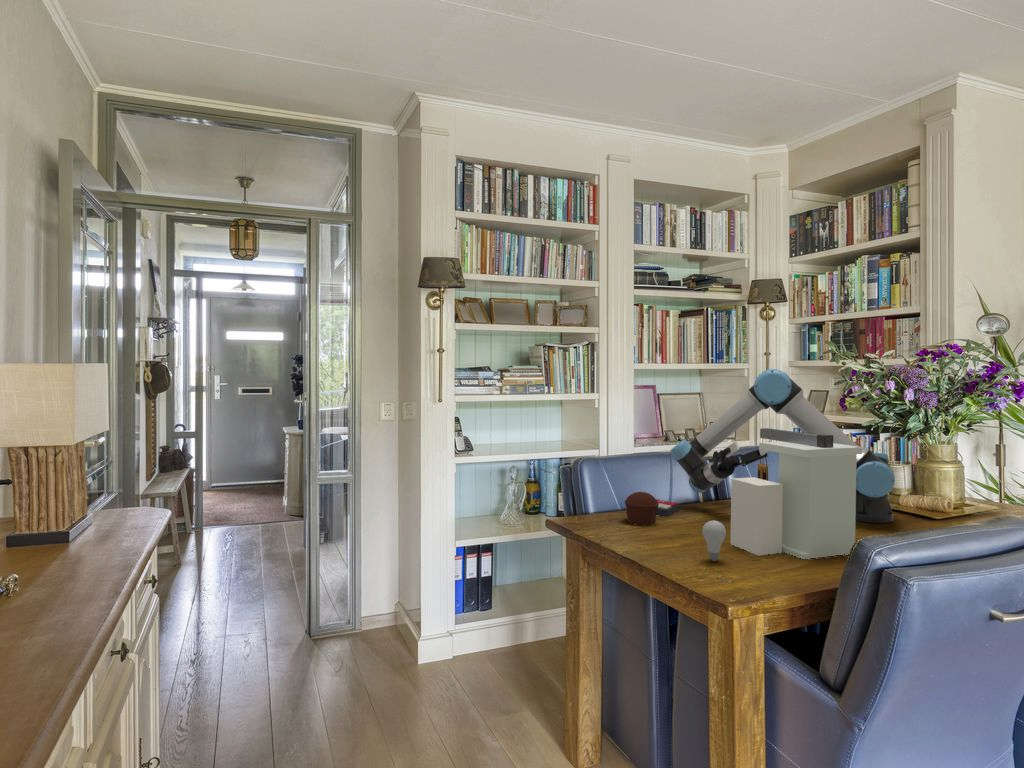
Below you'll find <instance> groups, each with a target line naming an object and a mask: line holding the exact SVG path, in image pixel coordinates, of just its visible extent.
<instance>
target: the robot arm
mask: <svg viewBox="0 0 1024 768" xmlns="http://www.w3.org/2000/svg"><path fill="white" fill-rule="evenodd" d="M769 408H771V409H772V410H773V412H774V413H776V414H777V415H784V416H785V417H787V418H788V419H789V420H790V421H791V422H793V424H795V426H797V428H799V429H800V430H801V431H802V433H808V434H815V435H825V434H827V435H833V443H836V444H843V445H850V446H857V447H860V446H859V444H857V443H856V442H855V441H853V440H852V438H850V437H849V436H848V435H847V434H846V433H845V432H843V430H841V429H840V428H839V427H838V426H836V424H834V422H832V421H831V420H830V419H829V418H828V417H827V416H826V415H825V414H824V413H822V412H821V411H820V409H818V408H817V407H816V406H815V405H813V404H812V403H811V402H810V401H809V400H808V399H807V398H806V397H805V396H804V390H803V389H802V388H801V387H800V385H798V384H797V383H796V382H795V381H794V380H793V379H791V378H790V376H789V375H788V374H787V373H786V372H785V371H782V370H780V369H778V368H776V369H775V368H770V369H769V368H768V369H766V370H764V371H761V373H759V374H758V376H756V378H755V380H754V382H753V385H752V386H751V387H750V388H748V389H747V393H746V395H744V396H743V397H742V398H741V399H740V400H738V401H737V402H736V403H735V404H733V405H732V406H731V407H730V408H729V409H728V410H726V411H725V412H724V413H723V414H722V415H721V416H719V417H718V418H717V419H716V420H714V421H713V422H712V423H711V424H710V425H709V426H707V427H706V428H704V430H703V431H701V432H700V433H699V434H698V435H697V436H696V437H694V438H693V439H692V440H690V441H689V442H688V441H687V440H685V439H683V440H681V441H680V442H679V443H677V444H676V445H675V446H674V447H672V448H671V449H670V451H669V452H670V454H671V456H672V457H673V459H674V460H675V461H676V462H677V463H678V464H679V466H680V467H681V468H682V469H683V470H684V471H685V473H686V474H687V476H688V477H689V478H688V484H689V487H690V488H691V490H692V491H694V492H696V493H699V494H700V493H704V492H705V493H706V491H709V490H711V489H712V488H714V486H716V485H719V484H721V482H722V481H724V480H725V479H727V478H729V477H730V476H731V475H733V474H734V472H735V468H737V467H739V466H742V467H746V466H747V465H749V464H752V463H755V462H758V461H760V459H761V460H762V458H764V459H765V457H766V458H767V457H768V453H769V452H770V451H767V450H761V449H759V447H758V449H756V450H751V451H749V452H746V453H743V454H742V453H738V454H736V455H734V454H735V453H736V452H738V451H739V450H740V447H739V444H738V441H734V442H732V443H731V444H729V445H728V446H727V447H726V448H724V449H722V450H720V451H719V452H718V451H717V450H715V451H713V454H712V458H711V459H710V460H709V462H708V463H706V462H705V461H704V460H703V458H704V457H705V456H707V455H708V454H709V453H710V452H712V450H714V449H715V448H716V447H717V446H719V445H720V444H721V443H723V442H724V441H725V440H726V439H728V438H729V437H730V436H731V435H732V434H734V433H735V432H736V431H737V430H739V429H740V428H741V427H742V426H744V425H745V424H746V423H747V422H748V421H750V420H751V419H752V418H754V416H756V415H757V414H758V413H760V412H761V410H768V409H769ZM767 442H773V440H770V439H769V440H768V441H767ZM889 463H890V460H889V455H888V454H887V453H885V452H873V451H872V450H870V448H868V447H867V448H866V447H862V454H859V455H857V458H856V517H855V522H856V521H857V522H862V523H863V522H864V523H874V524H888V523H889V524H890V523H892V522H894V513H893V509H892V506H891V504H890V501H889V497H888V495H889V493H890V492H891V491H892V490H893V488H894V486H895V481H896V480H895V472H894V471H893V470H892V468H891V467H890V466H889Z"/></svg>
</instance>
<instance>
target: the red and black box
mask: <svg viewBox="0 0 1024 768" xmlns="http://www.w3.org/2000/svg"><path fill="white" fill-rule="evenodd" d="M655 499H656V501H657V502H658V504H659V505H658V508H657V514H656V515H659V516H658V517H662V516H664V518H667V516H668V517H669V515H670V516H672V515H674V513H675V512H677V511H678V512H679V511H680V508H679V507H680V505H679V504H678V502H674V501H673V502H672V501H669V500H664V499H663V500H662V499H658V498H655ZM678 512H677V513H678ZM675 514H676V513H675Z"/></svg>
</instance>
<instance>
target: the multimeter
mask: <svg viewBox="0 0 1024 768" xmlns="http://www.w3.org/2000/svg"><path fill="white" fill-rule="evenodd" d="M764 459H765V461H764ZM759 462H760V463H757V478H759V479H763V480H767V481H769V466H768V461H767V457H765V458H762V459H760V460H759ZM765 463H766V464H765Z"/></svg>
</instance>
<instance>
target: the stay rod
mask: <svg viewBox="0 0 1024 768" xmlns="http://www.w3.org/2000/svg"><path fill="white" fill-rule="evenodd" d="M759 438H760V439H764V440H769V441H770V440H772V441H775V442H789V443H796V444H802V445H809V446H815V447H821V448H832V447H833V435H827V434H825V435H815V434H808V433H804V432H800V431H792V430H791V431H790V430H785V429H777V428H775V429H774V428H768V427H767V428H765V427H764V428H759Z"/></svg>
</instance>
